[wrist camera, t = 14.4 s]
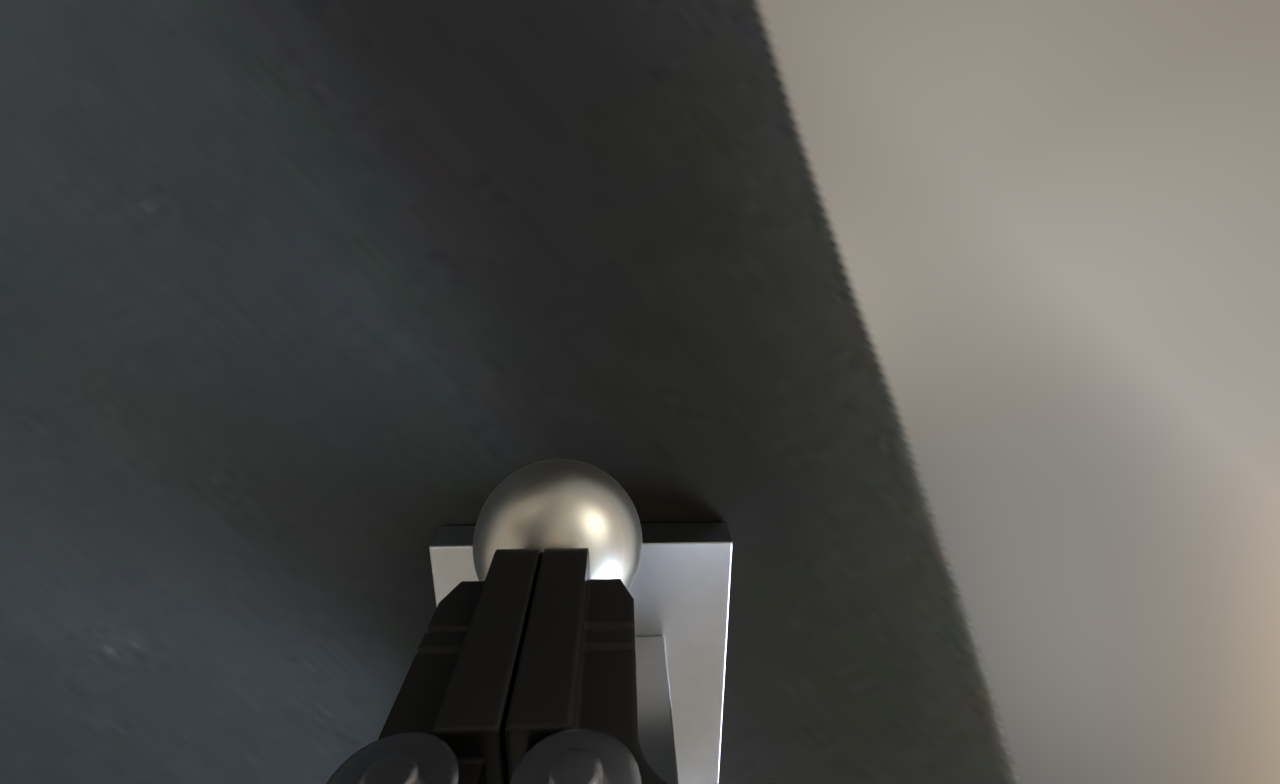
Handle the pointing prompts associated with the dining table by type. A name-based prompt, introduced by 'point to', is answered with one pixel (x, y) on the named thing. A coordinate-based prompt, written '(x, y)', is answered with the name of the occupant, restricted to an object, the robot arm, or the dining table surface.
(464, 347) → the dining table surface
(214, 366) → the dining table surface
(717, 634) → the tap bracket
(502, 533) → the tap lever
